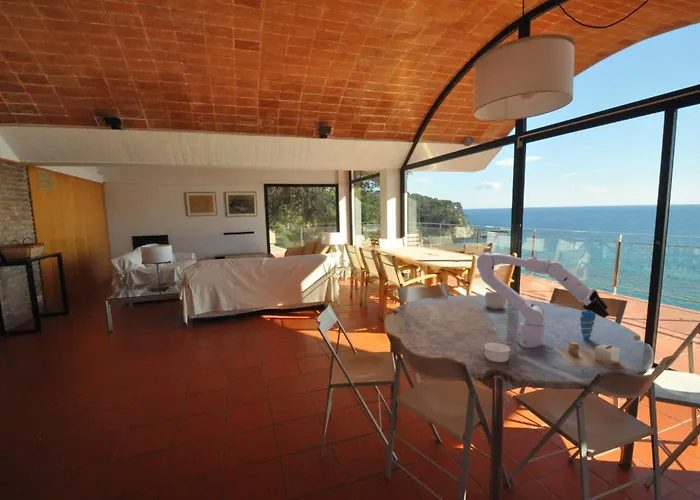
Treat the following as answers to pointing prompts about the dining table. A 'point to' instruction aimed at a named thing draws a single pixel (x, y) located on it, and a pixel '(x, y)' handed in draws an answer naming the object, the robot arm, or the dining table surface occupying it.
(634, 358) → the dining table surface
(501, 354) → the ramekin
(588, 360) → the board
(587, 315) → the ornament
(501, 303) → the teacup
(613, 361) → the beige cube
